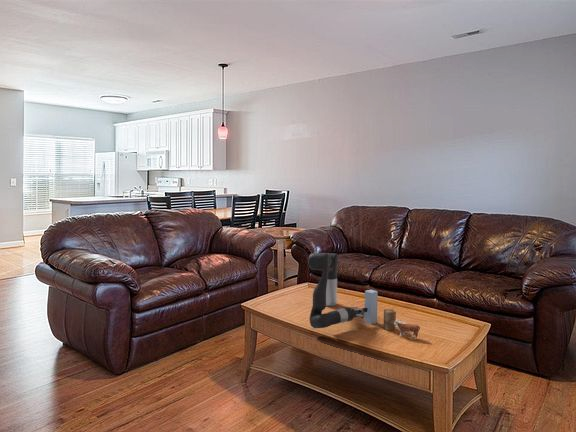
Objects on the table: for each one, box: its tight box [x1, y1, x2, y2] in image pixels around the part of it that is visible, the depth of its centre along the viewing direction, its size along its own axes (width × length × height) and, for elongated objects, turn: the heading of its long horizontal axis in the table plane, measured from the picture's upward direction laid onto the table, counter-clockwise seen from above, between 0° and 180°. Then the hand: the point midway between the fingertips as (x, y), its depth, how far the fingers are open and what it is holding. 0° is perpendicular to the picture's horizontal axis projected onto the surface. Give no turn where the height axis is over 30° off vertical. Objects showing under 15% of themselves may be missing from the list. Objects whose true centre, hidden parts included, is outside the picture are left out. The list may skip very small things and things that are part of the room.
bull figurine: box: [394, 319, 421, 340], centre depth 215 cm, size 4×13×8 cm, turn 59°
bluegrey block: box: [363, 289, 379, 325], centre depth 236 cm, size 5×5×18 cm
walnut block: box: [382, 308, 397, 331], centre depth 226 cm, size 5×5×10 cm
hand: (366, 309), depth 234 cm, fingers closed
